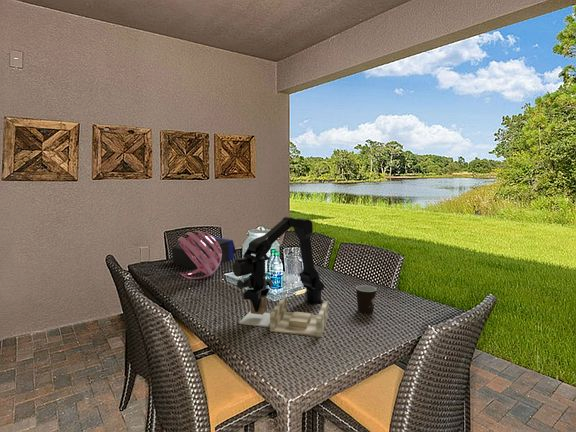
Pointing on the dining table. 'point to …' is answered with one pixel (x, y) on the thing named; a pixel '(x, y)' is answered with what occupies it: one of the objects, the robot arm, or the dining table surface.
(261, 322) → the grey mat
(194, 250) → the spiral basket
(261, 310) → the walnut block
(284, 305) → the slot box
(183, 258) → the headphone box
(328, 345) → the dining table surface
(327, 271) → the dining table surface
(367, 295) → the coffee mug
